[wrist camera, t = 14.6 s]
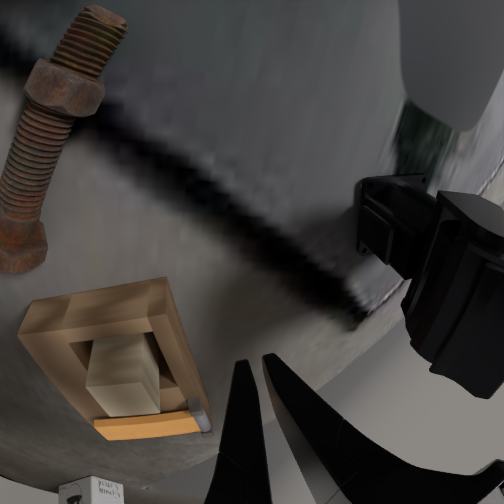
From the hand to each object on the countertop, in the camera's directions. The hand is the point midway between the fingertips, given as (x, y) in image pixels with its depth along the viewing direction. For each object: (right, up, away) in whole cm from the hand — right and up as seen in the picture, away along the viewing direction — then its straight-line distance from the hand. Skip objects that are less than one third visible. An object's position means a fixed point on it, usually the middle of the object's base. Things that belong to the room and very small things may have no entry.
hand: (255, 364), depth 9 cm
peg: (-10, -3, +13) cm, 17 cm away
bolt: (-12, +11, +5) cm, 17 cm away
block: (-11, -6, +15) cm, 20 cm away
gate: (-9, -12, +14) cm, 20 cm away
